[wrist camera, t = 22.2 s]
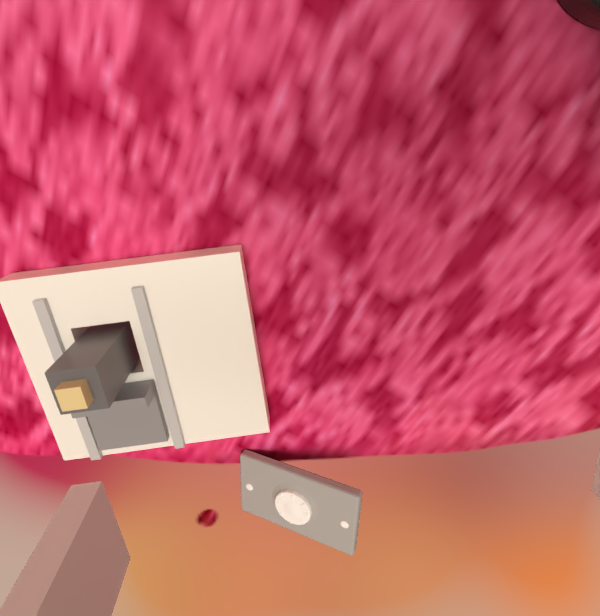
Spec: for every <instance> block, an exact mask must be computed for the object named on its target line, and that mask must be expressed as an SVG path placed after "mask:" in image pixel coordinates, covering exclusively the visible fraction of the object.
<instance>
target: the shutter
mask: <svg viewBox="0 0 600 616" xmlns="http://www.w3.org/2000/svg"><path fill="white" fill-rule="evenodd" d="M71 416H72V418H80V417H88V418H89V421H90V424H91V427H92V430H93V432H94V435H95V438H96V441H97V444H98V446H99V449H100V451H101V450H108V449H116V448H123V447H130V446H137V445H145V444H152V443H159V442H166V441H168V439H169V433H168V429H167V426H166V422H165V419H164V415H163V411H162V408H161V404H160V401H159V397H158V393H157V390H156V386H155V383H154V379H153V380H145V381H138V382H130V383H124V385H123V386H122V388H121V390H120V391H119V393H118V395H117V396H116V398H115V400H114V401H113V403H112V405H111V406H110V408H107V409H100V410H93V411H85V412H78V413H71Z"/></svg>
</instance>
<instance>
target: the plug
mask: <svg viewBox="0 0 600 616" xmlns="http://www.w3.org/2000/svg"><path fill="white" fill-rule="evenodd" d="M139 358H140V356H139V353H138V349H137V346H136V342H135V339H134V335H133V332H132V328H131V325H130V321H125V322H118V323H110V324H102V325H94V326H90V327H89V328H88V329H87V330H86V331H85V332H84V333H83V334H82V335H81V336H80V337H79V338H78V339H77V340H76V341H75V342H74V343H73V344H72V345H71V346H70V347H69V348H68V349H67V350H66V351H65V352H64V353H63V354H62V355H61V356H60V357H59V358H58V359H57V360H56V361H55V362H54V363H53V364H52V365H51V367H50V368H49V369H48V370H47V371H46V372H45V376H46V378H47V381H48V384H49V386H50V389H51V391H52V394H53V396H54V399H55V402H56V404H57V407H58V409H59V412H60V414H61V415H63V414H71V413H78V412H85V411H93V410H100V409H107V408H110V406H111V405H112V403H113V401H114V400H115V398H116V396H117V395H118V393H119V391H120V390H121V388H122V386H123V385H124V383H125V381H126V380H127V378H128V376H129V375H130V373H131V371H132V370H133V368H134V366H135V365H136V363H137V361H138V360H139Z"/></svg>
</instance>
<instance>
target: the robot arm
mask: <svg viewBox="0 0 600 616" xmlns="http://www.w3.org/2000/svg"><path fill="white" fill-rule="evenodd" d="M558 1H559V3H560V4H561V5H562V7H563V8H564V9H565V10H566V11H567V12H568V13H569V14H570V15H571V16H572V17H574V18H575V19H576V20H578V21H580V22H581V23H583V24H585V25H588V26H590V27H593V28H597V29H600V0H558ZM592 491H593V492H594V494H595V495H596V496H597V497H598V498H599V499H600V450H599V456H598V460H597V465H596V471H595V476H594V481H593V486H592ZM129 561H130V555H129V553H128V550H127V548H126V545H125V542H124V539H123V537H122V534H121V531H120V528H119V526H118V523H117V520H116V518H115V515H114V512H113V510H112V507H111V504H110V502H109V499H108V496H107V493H106V491H105V488H104V485H103V483H102V481H99V482H92V483H85V484H78V485H71V487H70V489H69V490H68V492H67V494H66V496H65V497H64V499H63V501H62V503H61V504H60V506H59V508H58V509H57V511H56V513H55V515H54V517H53V518H52V520H51V522H50V524H49V525H48V527H47V529H46V531H45V532H44V534H43V536H42V537H41V539H40V541H39V543H38V544H37V546H36V548H35V550H34V551H33V553H32V555H31V557H30V558H29V560H28V562H27V563H26V565H25V567H24V569H23V570H22V572H21V574H20V576H19V577H18V579H17V581H16V583H15V584H14V586H13V588H12V590H11V591H10V593H9V595H8V596H7V598H6V600H5V602H4V603H3V605H2V607H1V609H0V616H111V615H112V612H113V609H114V606H115V603H116V600H117V597H118V594H119V591H120V588H121V584H122V582H123V579H124V576H125V573H126V569H127V567H128V564H129Z"/></svg>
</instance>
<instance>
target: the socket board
mask: <svg viewBox="0 0 600 616" xmlns="http://www.w3.org/2000/svg"><path fill="white" fill-rule="evenodd" d="M0 303H1V305H2V308H3V310H4V313H5V315H6V318H7V320H8V323H9V325H10V328H11V330H12V333H13V335H14V338H15V340H16V342H17V345H18V347H19V350H20V352H21V355H22V357H23V360H24V362H25V365H26V367H27V370H28V372H29V375H30V377H31V380H32V382H33V385H34V387H35V390H36V392H37V394H38V397H39V399H40V402H41V404H42V407H43V409H44V412H45V414H46V417H47V419H48V422H49V424H50V427H51V429H52V432H53V434H54V437H55V439H56V441H57V444H58V446H59V449H60V451H61V454H62V456H63V459H64V460H72V459H79V458H86V457H90V458H91V460H98V459H101V458H102V456H103V455H108V454H115V453H122V452H130V451H137V450H144V449H151V448H158V447H166V446H173V445H174V447H175V449H177V448H184V447H185V444H187V443H194V442H202V441H209V440H216V439H223V438H230V437H238V436H245V435H252V434H259V433H266V432H270V415H269V409H268V403H267V397H266V391H265V385H264V379H263V373H262V367H261V361H260V354H259V348H258V342H257V336H256V330H255V324H254V318H253V312H252V306H251V300H250V294H249V288H248V282H247V276H246V270H245V264H244V257H243V251H242V245H241V244H240V245H232V246H224V247H216V248H208V249H200V250H192V251H184V252H176V253H168V254H160V255H152V256H144V257H136V258H128V259H120V260H112V261H104V262H96V263H88V264H80V265H72V266H64V267H56V268H48V269H40V270H32V271H25V272H17V273H11V274H9V275H7V276H5V277H3V278H1V279H0ZM125 321H130V325H131V328H132V332H133V335H134V339H135V342H136V346H137V349H138V353H139V356H140V359H139V360H138V361H137V363H136V365H135V366H134V368H133V370H132V371H131V373H130V375H129V376H128V378H127V380H126V381H125V383H130V382H138V381H145V380H153V379H154V383H155V386H156V390H157V393H158V397H159V401H160V404H161V408H162V411H163V415H164V419H165V422H166V426H167V429H168V433H169V439H168V441H166V442H159V443H152V444H145V445H137V446H130V447H123V448H116V449H108V450H101V451H100V449H99V446H98V444H97V441H96V438H95V435H94V432H93V430H92V427H91V424H90V421H89V418H88V417H80V418H72V416H71V414H63V415H61V414H60V412H59V409H58V407H57V404H56V402H55V399H54V396H53V394H52V391H51V389H50V386H49V384H48V381H47V378H46V376H45V372H46V371H47V370H48V369H49V368H50V367H51V365H52V364H53V363H54V362H55V361H56V360H57V359H58V358H59V357H60V356H61V355H62V354H63V353H64V352H65V351H66V350H67V349H68V348H69V347H70V346H71V345H72V344H73V343H74V342H75V341H76V340H77V339H78V338H79V337H80V336H81V335H82V334H83V333H84V332H85V331H86V330H87V329H88V328H87V326H94V325H102V324H110V323H118V322H125Z"/></svg>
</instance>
